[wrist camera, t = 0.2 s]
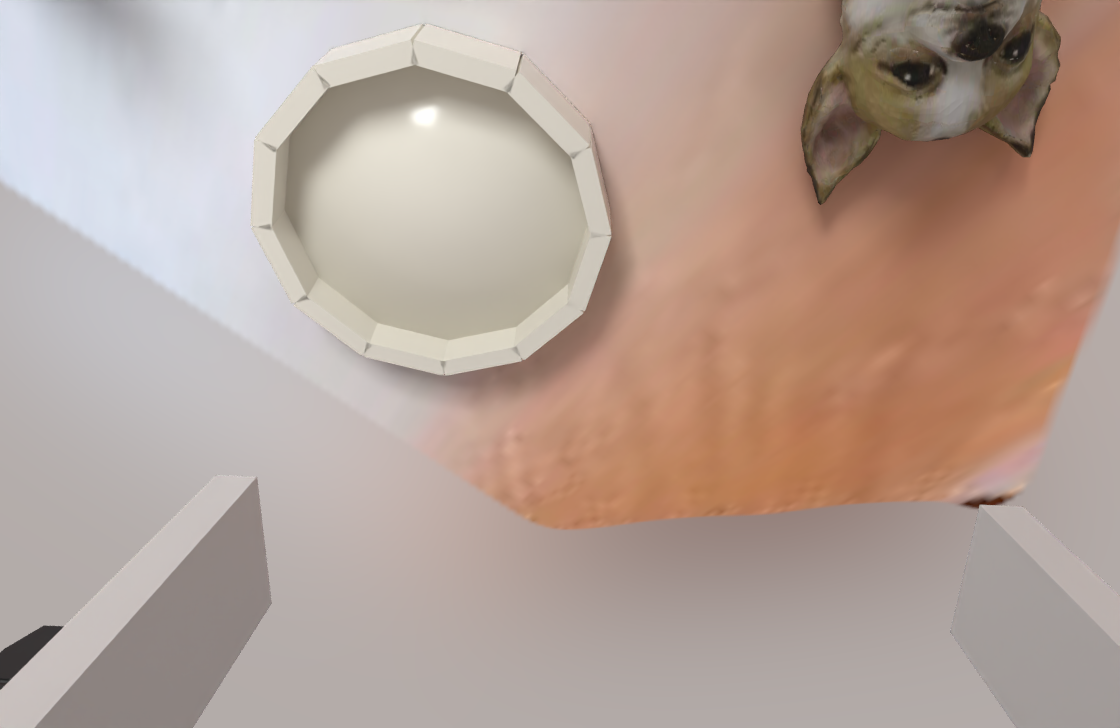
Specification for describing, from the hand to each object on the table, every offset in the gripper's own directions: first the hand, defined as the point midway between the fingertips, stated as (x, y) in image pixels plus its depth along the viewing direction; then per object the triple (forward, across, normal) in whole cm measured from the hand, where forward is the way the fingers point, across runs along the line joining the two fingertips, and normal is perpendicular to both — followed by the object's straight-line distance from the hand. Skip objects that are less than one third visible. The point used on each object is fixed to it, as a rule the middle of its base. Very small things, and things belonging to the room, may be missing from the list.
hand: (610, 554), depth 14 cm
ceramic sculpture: (+25, +13, +12) cm, 31 cm away
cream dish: (+27, -8, +3) cm, 29 cm away
